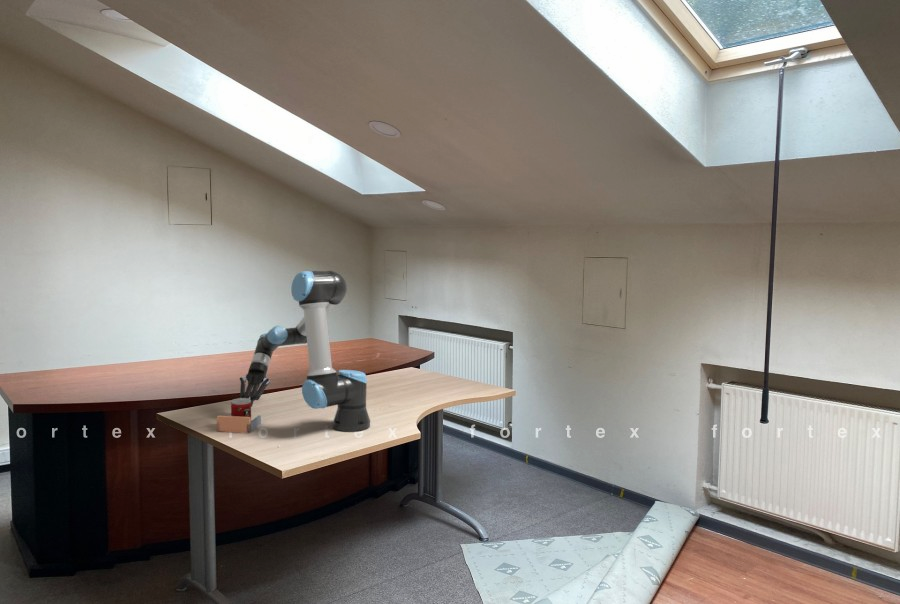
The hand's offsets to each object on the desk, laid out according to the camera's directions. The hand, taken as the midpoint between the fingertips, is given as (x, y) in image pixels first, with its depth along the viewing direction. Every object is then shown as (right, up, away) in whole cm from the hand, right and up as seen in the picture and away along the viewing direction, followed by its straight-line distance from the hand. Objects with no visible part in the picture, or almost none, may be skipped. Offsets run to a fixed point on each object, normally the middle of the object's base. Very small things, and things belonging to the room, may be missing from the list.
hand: (244, 413), depth 254 cm
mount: (0, -5, -5) cm, 7 cm away
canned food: (0, -5, -5) cm, 7 cm away
